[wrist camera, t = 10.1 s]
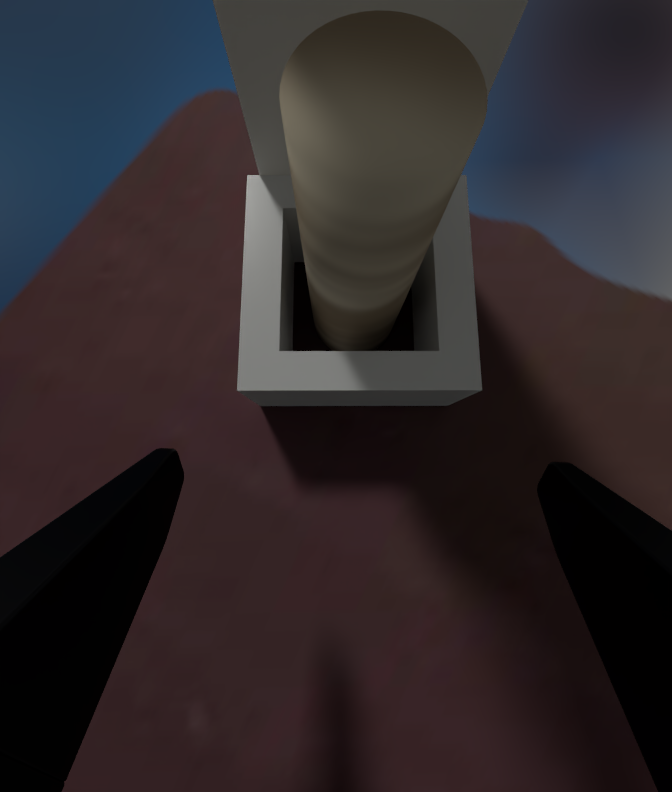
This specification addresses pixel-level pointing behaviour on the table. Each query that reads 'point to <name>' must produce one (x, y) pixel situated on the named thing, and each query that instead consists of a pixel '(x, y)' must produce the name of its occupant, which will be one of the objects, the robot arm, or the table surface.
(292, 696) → the table surface
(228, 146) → the table surface
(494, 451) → the table surface
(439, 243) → the white holder stand
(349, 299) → the peg
